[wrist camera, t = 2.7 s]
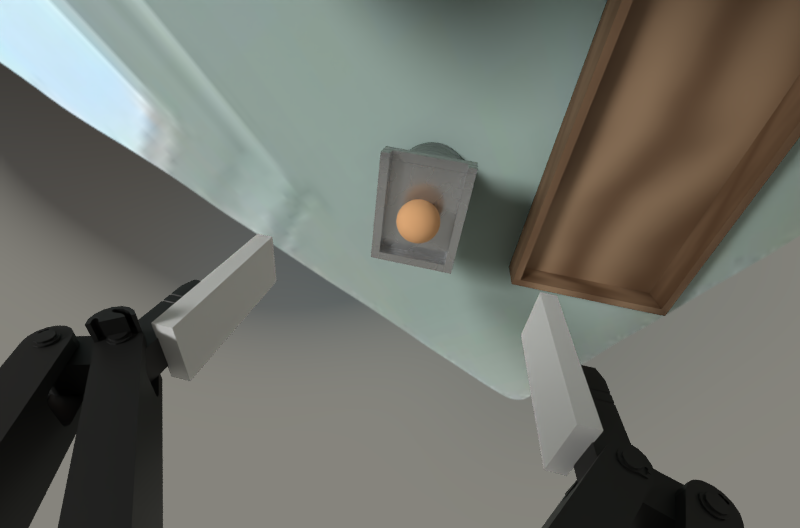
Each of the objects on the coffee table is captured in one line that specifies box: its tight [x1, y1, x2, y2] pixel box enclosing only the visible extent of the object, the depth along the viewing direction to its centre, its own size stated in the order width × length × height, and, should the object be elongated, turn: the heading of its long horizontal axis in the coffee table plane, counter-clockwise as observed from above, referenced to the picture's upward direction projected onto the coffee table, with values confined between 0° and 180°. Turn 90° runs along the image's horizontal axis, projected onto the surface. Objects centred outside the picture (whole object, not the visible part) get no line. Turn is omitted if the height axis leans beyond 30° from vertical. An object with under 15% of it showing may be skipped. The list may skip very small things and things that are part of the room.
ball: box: [396, 199, 440, 244], centre depth 23 cm, size 3×3×3 cm
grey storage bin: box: [371, 142, 478, 274], centre depth 27 cm, size 6×8×8 cm
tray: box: [509, 0, 800, 316], centre depth 25 cm, size 14×25×3 cm, turn 173°
